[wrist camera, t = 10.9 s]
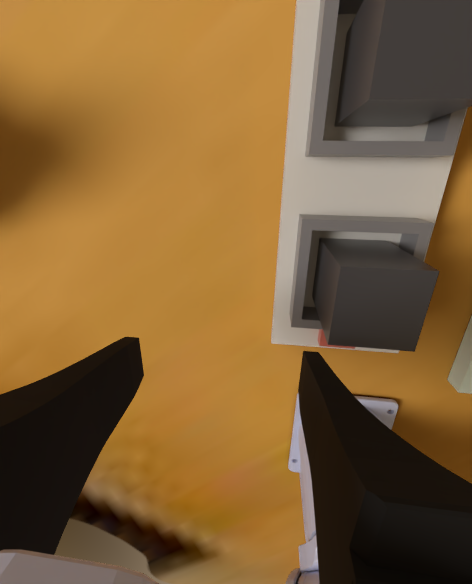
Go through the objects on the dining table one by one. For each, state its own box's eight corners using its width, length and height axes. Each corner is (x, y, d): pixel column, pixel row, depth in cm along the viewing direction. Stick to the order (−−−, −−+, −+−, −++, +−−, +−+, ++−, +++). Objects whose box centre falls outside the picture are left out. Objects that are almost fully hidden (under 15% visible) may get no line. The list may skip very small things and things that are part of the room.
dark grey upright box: (411, 126, 15) (493, 98, 9) (334, 126, 15) (368, 99, 10) (433, 29, 13) (545, -71, 8) (346, 32, 14) (395, -62, 8)
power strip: (391, 344, 21) (445, 420, 15) (271, 335, 22) (271, 402, 16) (502, -71, 13) (750, -334, 6) (300, -57, 14) (326, -273, 7)
